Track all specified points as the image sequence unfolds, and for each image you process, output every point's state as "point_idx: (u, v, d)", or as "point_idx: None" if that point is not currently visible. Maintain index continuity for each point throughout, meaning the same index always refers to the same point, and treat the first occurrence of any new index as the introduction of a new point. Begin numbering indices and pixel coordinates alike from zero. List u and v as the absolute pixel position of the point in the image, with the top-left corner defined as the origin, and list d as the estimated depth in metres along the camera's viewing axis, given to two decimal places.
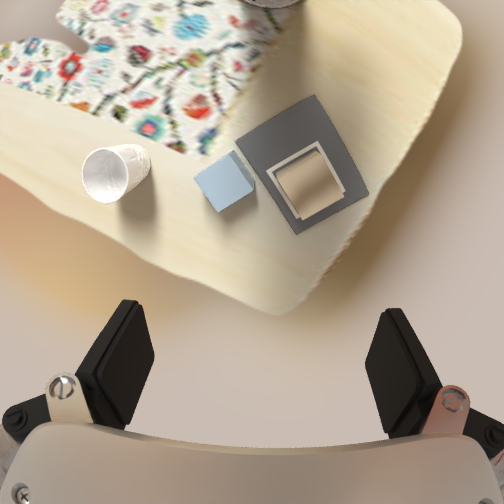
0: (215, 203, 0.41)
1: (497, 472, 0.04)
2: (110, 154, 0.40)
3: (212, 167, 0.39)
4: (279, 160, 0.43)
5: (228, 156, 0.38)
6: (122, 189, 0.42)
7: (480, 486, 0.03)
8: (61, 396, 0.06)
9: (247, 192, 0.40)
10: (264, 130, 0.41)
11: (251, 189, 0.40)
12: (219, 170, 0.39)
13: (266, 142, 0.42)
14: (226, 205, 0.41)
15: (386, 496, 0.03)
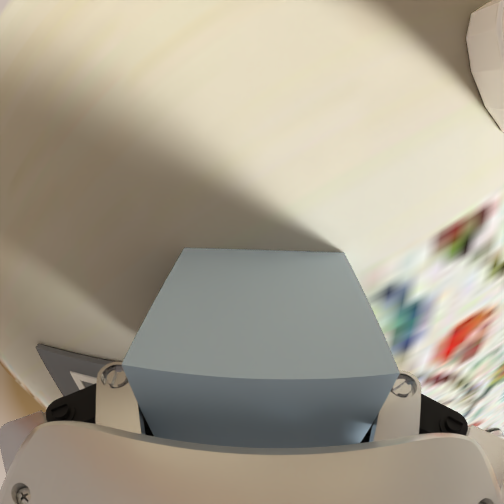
0: (183, 389, 0.06)
1: None
2: None
3: (353, 441, 0.07)
4: None
5: None
6: None
7: (480, 486, 0.03)
8: (113, 385, 0.07)
9: None
10: None
11: None
12: None
13: None
14: (147, 407, 0.06)
15: (386, 496, 0.03)
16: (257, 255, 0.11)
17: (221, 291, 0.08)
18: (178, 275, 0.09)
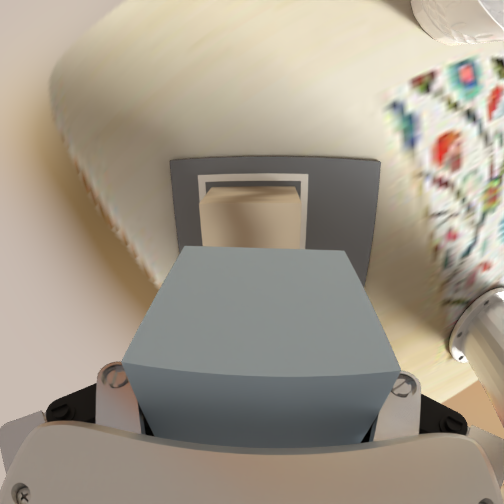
0: (183, 386, 0.06)
1: None
2: None
3: (354, 440, 0.07)
4: (310, 203, 0.25)
5: None
6: None
7: (480, 486, 0.03)
8: (113, 385, 0.07)
9: None
10: (366, 211, 0.25)
11: None
12: None
13: (348, 203, 0.25)
14: (147, 406, 0.06)
15: (386, 496, 0.03)
16: (257, 252, 0.10)
17: (221, 289, 0.08)
18: (178, 273, 0.09)
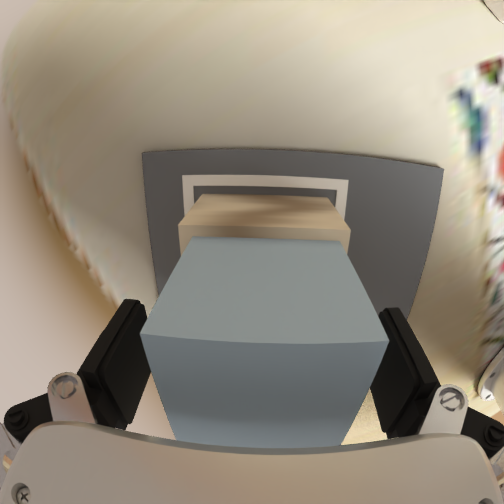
0: (195, 355, 0.07)
1: (496, 471, 0.04)
2: None
3: (350, 413, 0.08)
4: (348, 223, 0.17)
5: None
6: None
7: (480, 486, 0.03)
8: (63, 395, 0.06)
9: (180, 437, 0.09)
10: (419, 236, 0.17)
11: None
12: (318, 423, 0.08)
13: (398, 224, 0.16)
14: (160, 377, 0.07)
15: (386, 496, 0.03)
16: (260, 242, 0.11)
17: (228, 272, 0.09)
18: (188, 259, 0.10)
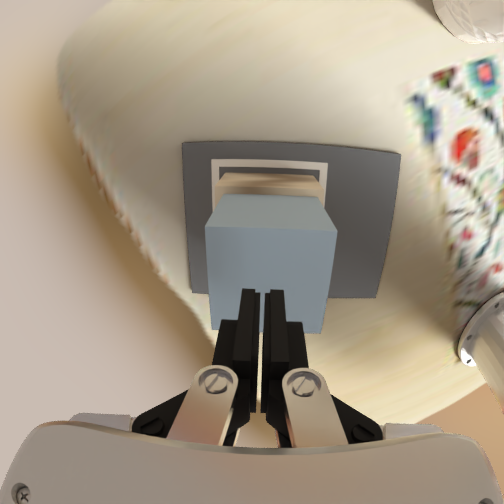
0: (234, 238, 0.13)
1: None
2: None
3: (324, 289, 0.14)
4: (328, 194, 0.23)
5: (317, 330, 0.16)
6: None
7: (480, 486, 0.03)
8: (209, 388, 0.07)
9: (214, 317, 0.15)
10: (384, 205, 0.23)
11: (216, 327, 0.16)
12: (304, 297, 0.15)
13: (367, 195, 0.23)
14: (210, 258, 0.14)
15: (386, 496, 0.03)
16: (266, 196, 0.18)
17: (249, 207, 0.16)
18: (224, 202, 0.17)
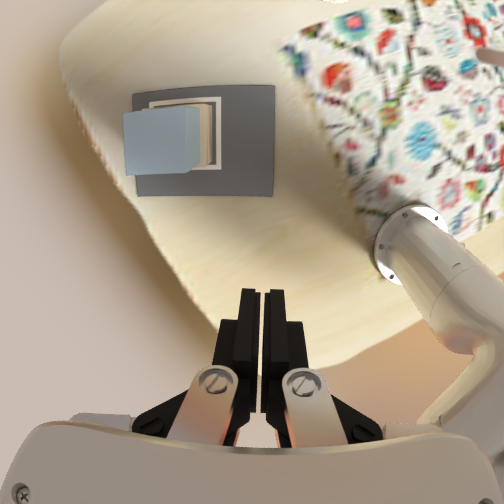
0: (135, 117, 0.23)
1: None
2: None
3: (182, 141, 0.24)
4: (223, 117, 0.33)
5: (184, 170, 0.25)
6: None
7: (480, 486, 0.03)
8: (209, 388, 0.07)
9: (127, 166, 0.25)
10: (266, 121, 0.33)
11: (128, 173, 0.25)
12: (172, 147, 0.24)
13: (251, 115, 0.33)
14: (125, 130, 0.23)
15: (386, 496, 0.03)
16: None
17: None
18: None
